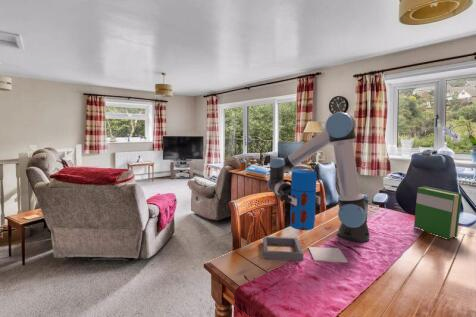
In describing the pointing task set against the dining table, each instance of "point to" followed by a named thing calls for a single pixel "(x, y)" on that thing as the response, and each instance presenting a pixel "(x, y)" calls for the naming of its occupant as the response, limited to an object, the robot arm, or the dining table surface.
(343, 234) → the robot arm
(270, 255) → the collar
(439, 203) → the hardback book
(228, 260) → the dining table surface
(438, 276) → the dining table surface
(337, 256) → the mat
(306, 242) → the dining table surface
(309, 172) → the thermos
